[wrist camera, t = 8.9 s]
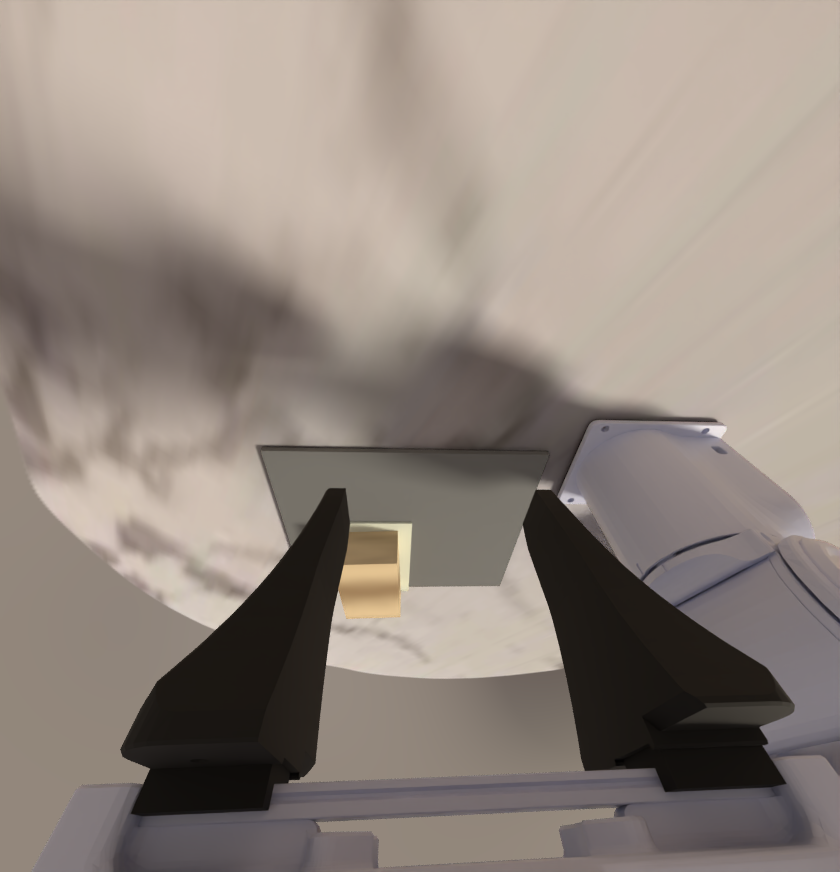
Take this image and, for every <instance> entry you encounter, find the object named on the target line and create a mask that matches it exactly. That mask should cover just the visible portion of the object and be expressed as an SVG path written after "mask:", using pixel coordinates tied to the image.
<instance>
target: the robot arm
mask: <svg viewBox="0 0 840 872" xmlns="http://www.w3.org/2000/svg"><path fill="white" fill-rule="evenodd" d="M605 426H606V427H605ZM603 427H605V428H603ZM602 428H603V429H602ZM726 430H727V427H726V426H725V425H724V424H723V423H720V422H674V421H627V420H595V421H593V422H591V423H590V424H589V426H588V428H587V430H586V433H585V435H584V437H583V439H582V442H581V444H580V446H579V448H578V451H577V453H576V455H575V457H574V460H573V462H572V464H571V466H570V469H569V471H568V473H567V475H566V478H565V480H564V482H563V484H562V487H561V489H560V491H559V493H558V496H556V495H555V494H554V493H553V492H552V490H535V492H534V495H533V498H532V500H531V503H530V506H529V508H528V511H527V513H526V516H525V519H524V521H523V528H524V533H525V537H526V542H527V546H528V550H529V553H530V556H531V559H532V561H533V564H534V567H535V570H536V573H537V576H538V578H539V581H540V584H541V587H542V590H543V592H544V595H545V598H546V601H547V604H548V606H549V610H550V613H551V616H552V619H553V623H554V627H555V631H556V635H557V639H558V643H559V647H560V651H561V656H562V660H563V664H564V669H565V673H566V678H567V683H568V688H569V693H570V697H571V702H572V707H573V713H574V718H575V724H576V730H577V735H578V741H579V748H580V754H581V759H582V763H583V766H584V769H585V771H574V772H550V773H526V774H503V775H478V776H455V777H431V778H407V779H382V780H358V781H334V782H312V783H288V782H289V780H299V779H300V777H304V776H305V775H306V774H307V773H308V772H309V771H310V770H311V768H312V767H313V766H314V764H315V761H316V750H317V740H318V730H319V721H320V711H321V702H322V693H323V685H324V676H325V668H326V660H327V652H328V644H329V637H330V629H331V622H332V616H333V611H334V606H335V602H336V597H337V593H338V588H339V584H340V579H341V575H342V571H343V566H344V562H345V557H346V552H347V547H348V538H349V529H350V518H349V510H348V502H347V495H346V488H329V489H327V490H326V492H325V494H324V496H323V498H322V499H321V501H320V503H319V505H318V506H317V508H316V510H315V511H314V513H313V515H312V516H311V518H310V519H309V521H308V522H307V524H306V525H305V527H304V528H303V530H302V531H301V533H300V534H299V536H298V537H297V539H296V540H295V542H294V543H293V544H292V546H291V547H290V548H289V550H288V551H287V552H286V554H285V555H284V556H283V558H282V559H281V560H280V562H279V563H278V564H277V565H276V566H275V568H274V569H273V570H272V571H271V573H270V574H269V575H268V576H267V577H266V578H265V580H264V581H263V582H262V583H261V584H260V585H259V586H258V588H257V589H256V590H255V591H254V592H253V593H252V594H251V595H250V596H249V597H248V598H247V599H246V601H245V602H244V603H243V604H242V605H241V606H240V607H239V608H238V609H237V610H236V611H235V612H234V613H233V614H232V615H231V616H230V617H229V618H228V619H227V620H226V621H225V622H224V623H223V624H221V625H220V626H219V627H218V628H217V629H216V630H215V631H214V632H213V633H212V634H211V635H210V636H209V637H208V638H207V639H206V640H205V641H204V642H202V643H201V644H200V645H199V646H198V647H197V648H196V649H195V650H193V652H191V653H190V654H189V655H188V656H186V657H185V658H184V659H183V660H182V661H181V662H179V663H178V664H177V665H176V666H175V667H174V668H172V669H171V670H170V671H169V672H168V673H167V674H165V675H164V676H163V677H162V678H161V679H160V680H159V681H157V683H156V684H155V686H154V688H153V689H152V691H151V693H150V694H149V696H148V698H147V699H146V700H145V702H144V704H143V706H142V707H141V709H140V711H139V713H138V715H137V717H136V719H135V721H134V723H133V725H132V727H131V729H130V731H129V733H128V735H127V737H126V739H125V741H124V743H123V745H122V747H121V749H120V750H121V753H122V756H123V757H124V758H126V759H128V760H130V761H133V762H135V763H138V764H140V765H143V766H146V767H148V768H150V770H149V773H148V775H147V777H146V779H145V782H144V784H135V783H118V784H93V785H81V786H80V787H78V788H77V789H76V790H75V792H74V794H73V796H72V797H71V799H70V801H69V803H68V805H67V807H66V808H65V810H64V812H63V814H62V816H61V818H60V820H59V821H58V823H57V825H56V827H55V829H54V831H53V832H52V834H51V836H50V838H49V840H48V842H47V843H46V845H45V847H44V849H43V851H42V853H41V855H40V856H39V858H38V860H37V862H36V864H35V866H34V868H33V869H32V871H31V872H840V548H838V547H836V546H834V545H833V544H830V543H828V542H826V541H822V540H817V539H815V534H814V530H813V527H812V524H811V522H810V520H809V517H808V516H807V514H806V512H805V511H804V509H803V508H802V507H801V505H800V504H799V503H798V502H797V501H796V500H795V499H794V498H793V497H792V496H791V495H789V494H788V493H787V492H786V491H785V490H783V489H782V488H781V487H780V486H778V485H777V484H776V483H775V482H773V481H772V480H771V479H770V478H769V477H767V476H766V475H765V474H764V473H762V472H761V471H760V470H759V469H758V468H756V467H755V466H754V465H753V464H751V463H750V462H749V461H748V460H746V459H745V458H744V457H743V456H742V455H740V454H739V453H738V452H737V451H735V450H734V449H733V448H732V447H730V446H729V445H728V444H727V443H726V442H724V441H723V440H722V439H721V437H722V436H723V434H724V433H725V432H726ZM564 504H587V505H588V507H589V508H590V510H591V512H592V514H593V516H594V517H595V519H596V521H597V523H598V524H599V526H600V528H601V530H602V532H603V533H604V535H605V537H606V539H607V540H608V542H609V544H610V546H611V548H612V549H613V551H614V553H615V555H616V556H617V558H618V559H616V558H615V557H614V556H613V555H612V554H611V553H610V552H609V551H608V550H607V549H606V548H605V547H604V546H603V545H602V544H601V543H600V542H599V541H598V540H597V539H596V538H595V537H594V536H593V535H592V534H591V533H590V532H589V531H588V530H587V529H586V528H585V527H584V526H583V524H582V523H581V522H580V521H579V520H578V519H577V518H576V517H575V516H574V515H573V514H572V513H571V511H570V510H569V509H568V508H567V507H566V506H565V505H564ZM616 807H619V808H616ZM596 808H616V810H615V812H614V818H605V819H594V820H583V821H582V822H580V823H576V824H571V825H565V826H560V829H559V832H560V836H561V841H562V844H563V849H564V856H563V857H560V858H542V859H524V860H506V861H488V862H471V863H453V864H436V865H418V866H403V867H402V866H401V867H384V868H378V843H379V840H378V838H377V836H374V835H373V833H372V832H321V830H320V827H319V826H318V824H317V823H316V822H326V821H327V822H328V821H348V820H368V819H388V818H409V817H431V816H452V815H471V814H492V813H512V812H533V811H554V810H575V809H596Z"/></svg>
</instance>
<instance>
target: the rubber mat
mask: <svg viewBox="0 0 840 872" xmlns="http://www.w3.org/2000/svg"><path fill="white" fill-rule="evenodd" d="M261 454H262V457H263V460H264V463H265V467H266V470H267V473H268V476H269V479H270V482H271V485H272V488H273V492H274V495H275V498H276V501H277V504H278V507H279V510H280V513H281V517H282V520H283V523H284V526H285V529H286V532H287V535H288V538H289V541H290V545H291V546H292V544H293V543H294V542H295V540H296V539H297V537H298V536H299V534H300V533H301V531H302V530H303V528H304V527H305V525H306V524H307V522H308V521H309V519H310V518H311V516H312V515H313V513H314V511H315V510H316V508H317V506H318V505H319V503H320V501H321V499H322V498H323V496H324V494H325V492H326V490H327V489H329V488H346V495H347V502H348V510H349V518H350V529H349V532H375V531H398V544H399V564H400V583H401V591H408V589H409V587H428V586H500V584H501V581H502V579H503V576H504V573H505V571H506V568H507V565H508V563H509V560H510V558H511V555H512V552H513V550H514V547H515V544H516V542H517V539H518V536H519V534H520V531H521V529H522V526H523V521H524V519H525V516H526V513H527V511H528V508H529V506H530V503H531V500H532V498H533V495H534V492H535V490H536V489H537V487H538V484H539V481H540V479H541V476H542V473H543V471H544V468H545V465H546V463H547V460H548V458H549V453H548V451H485V450H421V449H357V448H292V447H262V449H261Z"/></svg>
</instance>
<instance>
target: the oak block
mask: <svg viewBox="0 0 840 872" xmlns="http://www.w3.org/2000/svg"><path fill="white" fill-rule="evenodd" d="M338 590H339V593H340V597H341V600H342V604H343V608H344V611H345V615H346V618H347V619H353V618H385V617H400V597H401V583H400V564H399V544H398V531H375V532H349V538H348V547H347V552H346V557H345V562H344V566H343V571H342V575H341V579H340V584H339V588H338Z"/></svg>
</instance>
